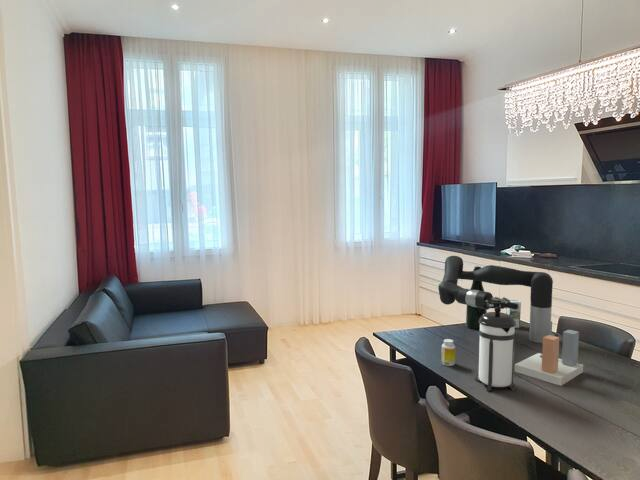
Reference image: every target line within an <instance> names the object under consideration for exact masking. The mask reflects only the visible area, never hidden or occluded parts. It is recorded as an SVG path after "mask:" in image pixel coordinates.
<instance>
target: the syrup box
mask: <svg viewBox="0 0 640 480" xmlns="http://www.w3.org/2000/svg"><path fill="white" fill-rule="evenodd" d="M509 300H510V302H511V303H517V304H518V309H510V308H505V309H506V313H505V314H508V315H510V316H512V317H513V318H514V321H515V322H516V326H515V329H521V328H520V327H521V314H522V313H521V308H522V302H521V301H520V300H519V299H509Z"/></svg>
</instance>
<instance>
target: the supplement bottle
mask: <svg viewBox="0 0 640 480" xmlns="http://www.w3.org/2000/svg"><path fill="white" fill-rule="evenodd" d="M440 359H441V362H440V363H441V364H442V366H443V365H444V366H447V367H451V366H455V364H456V345H455V344H454V340H453V339H450V338H445V339H443V343H442V344H441V358H440Z"/></svg>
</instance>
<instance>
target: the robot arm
mask: <svg viewBox="0 0 640 480" xmlns="http://www.w3.org/2000/svg"><path fill="white" fill-rule="evenodd" d="M444 261H445V262H444V274H443V278H442V281H441V282H440V283H439V284H438V286H437V289H438V294H439V298H440V299H439V300H440V302H441V303H442V304H444V305H447V306H449V305H451V304H453V303H455V301H456V303H458V304H462V305H466V306H467V305H470V306H472V307H477V308H481V309H486V310H490V309H495V308H496V307H499V308H500V309H501V310H504V309H506V308H510V309H518V304H517V303H511V302H510V300H511V299H508V298H507V297H502V298H501V297H499V296H498V297H497V296H493V294H492V293H491V292H488V291H485V290H484V291H479V290H470V289H471V288H465V287H462V286H460V285H458V282H459V281H458V280H464V281H465V280H466V281H468V280H469V281H473V280H475V281H481V282H482V283H487V284H494V285H499V286H524V287H528V288H530V296H529V297H530V298H529V299H530V306H529V307H530V309H529V310H530V312H529V333H528V334H529V337H528V339H529V341H531V342H534V343H537V344H543V337H545V336H548V335H551V336H552V335H553V321H552V309H553V308H552V305H553V283H554V280H553V277H552V276H551V275H550V274H549V273H548V272H545V271H526V270H519V269H516V268H511V267H506V266H500V265H494V264H490V265H489V264H488V265H486V266H482V267H481V268H480V269H478V270H475V271H473V270H471V271H468V270H464V260H463V258H462V257H461V256H458V255H450V256H448V257H446V259H445V260H444Z"/></svg>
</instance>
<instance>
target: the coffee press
mask: <svg viewBox="0 0 640 480" xmlns="http://www.w3.org/2000/svg"><path fill="white" fill-rule="evenodd" d="M493 309H494V310H493V311H489V312H488V311H487V313H485V314H483V315H482V316H481V318H480V319H479V323H480V328H479V330H478V335H479V336H478V337H479V338H478V339H479V341H478V371H477V372H478V373H477V376H476V377H474V380H475V382H479V381H480V382H482V383H483V384H485V385H487V386H486V391H487V392H492V391H493V387H494V388H505V387H509V388H510V390H511V391H515V390H517V386H516V384H515V382H514V372H515V342H516V341H515V338H516V331H515V329H516V328H515V326H516V322H515V321H514V318H513V317H512V316H510V315H508V314H506V313H504V312H501V311H502V309H500V308H499V307H496V308H493ZM477 378H478V379H477Z"/></svg>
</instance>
